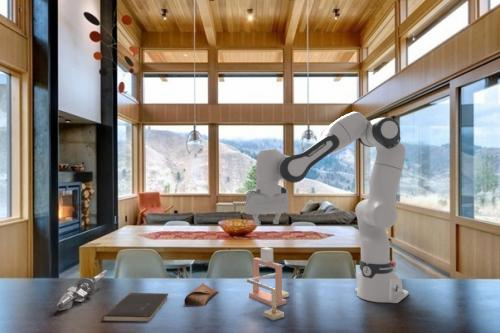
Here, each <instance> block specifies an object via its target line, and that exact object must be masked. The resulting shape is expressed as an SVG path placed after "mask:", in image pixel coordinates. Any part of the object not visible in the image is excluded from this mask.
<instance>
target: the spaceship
mask: <svg viewBox="0 0 500 333" xmlns="http://www.w3.org/2000/svg"><path fill="white" fill-rule="evenodd" d="M108 271H109V270H108V269H105V270H104V271H102V272H100V273H99V274H98V275H96V276H93V277H92V278H91V279H90V278H88V277H80V279H78V280H77V281H76V283H75V286H71V287H69V288H67V290H68V291H69V292H65V293H63V295H62V297H61V298H60V299H59V301H58V303H56V306H57V307H56V308H55V310H57V311H66V310H68V309H72V305H73V303H75V301H76V302H82V303H83V301H84V300H85V299H86V298H90V297H91V296H92V295H93V294H94V293H95V291H96V288H95V285H96V283H97V282H99V281H101V279H102V278H104V277H105V276H106V275H107V273H108Z"/></svg>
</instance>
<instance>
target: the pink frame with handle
mask: <svg viewBox="0 0 500 333" xmlns="http://www.w3.org/2000/svg"><path fill="white" fill-rule="evenodd" d="M260 265H262V266H265V267H267V268H271V269H274V270H275V271H274V273H275V278H274V279H275V286H274V288H276V308H277V307H279V306H283V305H286V304H287V300H286V299H285V298H282V290H283V264H281V263H278V262H275V261H274V248H271V247H269V246H267V247H266V246H265V247H260V257H254V258H252V278H255V277H259V276H260ZM257 282H259V283H260V280H258V281H257ZM248 297H250V298H252V299H255V300H256V301H259V302H261V303H264V304H265V305H267V306H268V305H269V306H271V307H272V294H271V292H270V293H269V292H267V291H264V290H263V289H260V287H259V286H256V285H254V284H252V291H249V292H248Z"/></svg>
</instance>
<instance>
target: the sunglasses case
mask: <svg viewBox="0 0 500 333" xmlns="http://www.w3.org/2000/svg"><path fill="white" fill-rule="evenodd" d="M218 293H219V291H218V290H217V289H215V288H213V287H210V286H208V285H206V284H205V283H204V282H203V283H201V285H199V286H198V287H196V288H195V289H194V290H192V291H191V292H190V293H189V294H187V295H186V296H185V298H184V304H185V306H194V307H195V306H196V307H205V306H207V303H209V301H211V299H213V297H215V295H217V294H218Z"/></svg>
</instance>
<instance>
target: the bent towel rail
mask: <svg viewBox="0 0 500 333" xmlns="http://www.w3.org/2000/svg"><path fill="white" fill-rule="evenodd" d="M274 277H275V272H274V273H268V274H264V275H259V277H255V278H253V277H251V278H247V279H246V282H247V283H249V284H251V285H253V284H254V285H256V286H259V288H262V289H265V290H268V291H270V294H272V306H271V309H267V310H264V311H263V317H265V318H267V319H269V320H271V321H276V320H279V319H282V318H284V317H285V312H284V311H281V310H279V309H277V307H276V288H275V287H272V286H270V285H267V284H264V283H261V282H260V281H262V280H266V279H269V278H274ZM258 280H259V282H257V281H258ZM289 293H290V292H288V291H284V290H283V289H282V298H283V299H285V298H288V297H290V294H289Z"/></svg>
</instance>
